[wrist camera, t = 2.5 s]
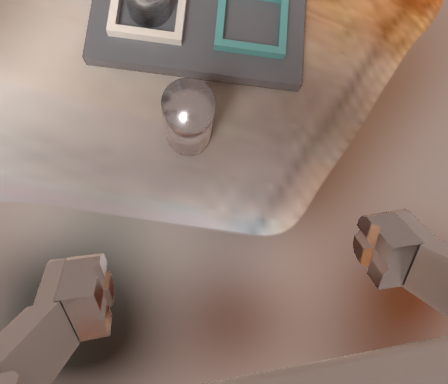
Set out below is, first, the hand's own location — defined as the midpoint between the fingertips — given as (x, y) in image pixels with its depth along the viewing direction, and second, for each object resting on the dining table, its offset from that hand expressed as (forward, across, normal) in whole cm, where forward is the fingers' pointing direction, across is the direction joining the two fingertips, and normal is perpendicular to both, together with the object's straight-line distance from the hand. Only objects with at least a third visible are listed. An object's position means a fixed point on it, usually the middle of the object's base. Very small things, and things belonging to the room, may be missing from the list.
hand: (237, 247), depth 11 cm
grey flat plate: (+34, +3, +1) cm, 35 cm away
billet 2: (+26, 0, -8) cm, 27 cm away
